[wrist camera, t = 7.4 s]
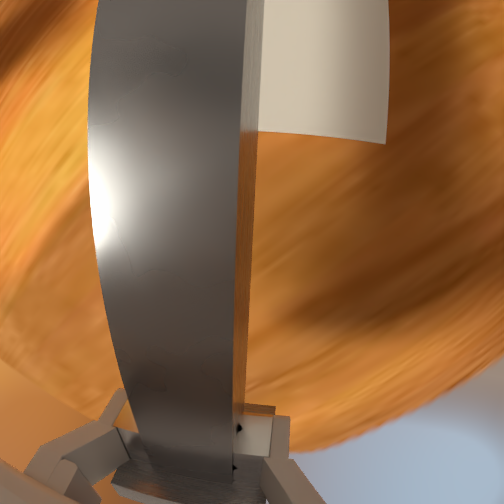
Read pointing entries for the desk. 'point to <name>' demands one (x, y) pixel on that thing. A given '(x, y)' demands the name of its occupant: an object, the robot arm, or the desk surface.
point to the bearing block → (325, 68)
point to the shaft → (177, 231)
